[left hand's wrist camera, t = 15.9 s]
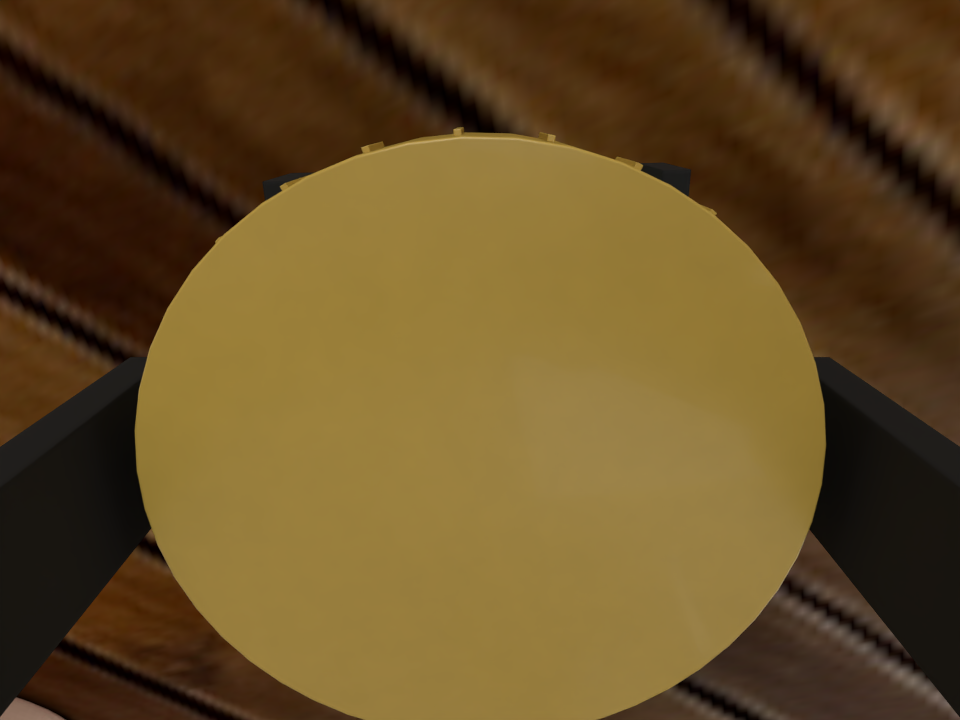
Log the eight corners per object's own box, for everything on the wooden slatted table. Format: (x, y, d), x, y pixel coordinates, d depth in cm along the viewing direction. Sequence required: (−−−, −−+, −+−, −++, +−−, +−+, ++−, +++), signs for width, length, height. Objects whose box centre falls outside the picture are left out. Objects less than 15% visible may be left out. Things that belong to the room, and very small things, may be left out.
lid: (528, -42, 9) (541, -81, 7) (883, 470, 12) (954, 533, 10) (61, 404, 12) (-17, 458, 10) (451, 732, 15) (447, 818, 13)
